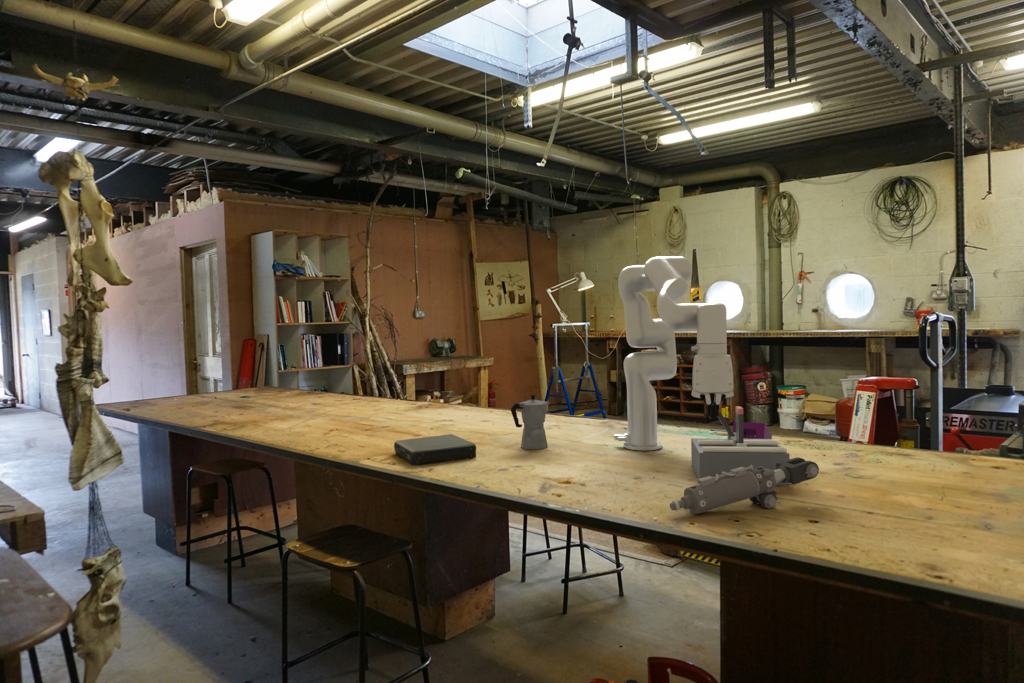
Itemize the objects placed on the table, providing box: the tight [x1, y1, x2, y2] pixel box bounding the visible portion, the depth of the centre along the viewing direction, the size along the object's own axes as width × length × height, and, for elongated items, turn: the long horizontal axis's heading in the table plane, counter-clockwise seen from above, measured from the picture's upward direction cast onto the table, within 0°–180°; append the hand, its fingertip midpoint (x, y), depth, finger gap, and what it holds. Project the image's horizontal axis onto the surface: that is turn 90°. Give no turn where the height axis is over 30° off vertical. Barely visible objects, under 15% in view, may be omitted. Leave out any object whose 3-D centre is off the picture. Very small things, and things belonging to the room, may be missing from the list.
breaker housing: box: [690, 409, 791, 486], centre depth 170 cm, size 22×19×18 cm
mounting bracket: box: [732, 421, 773, 440], centre depth 202 cm, size 9×8×18 cm
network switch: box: [393, 433, 477, 466], centre depth 204 cm, size 23×23×5 cm
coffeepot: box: [510, 393, 550, 451], centre depth 212 cm, size 15×9×18 cm, turn 122°
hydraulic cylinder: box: [669, 456, 820, 515], centre depth 142 cm, size 7×37×10 cm, turn 105°
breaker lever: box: [735, 405, 744, 445], centre depth 166 cm, size 1×4×11 cm, turn 170°
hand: (712, 418), depth 167 cm, fingers closed
